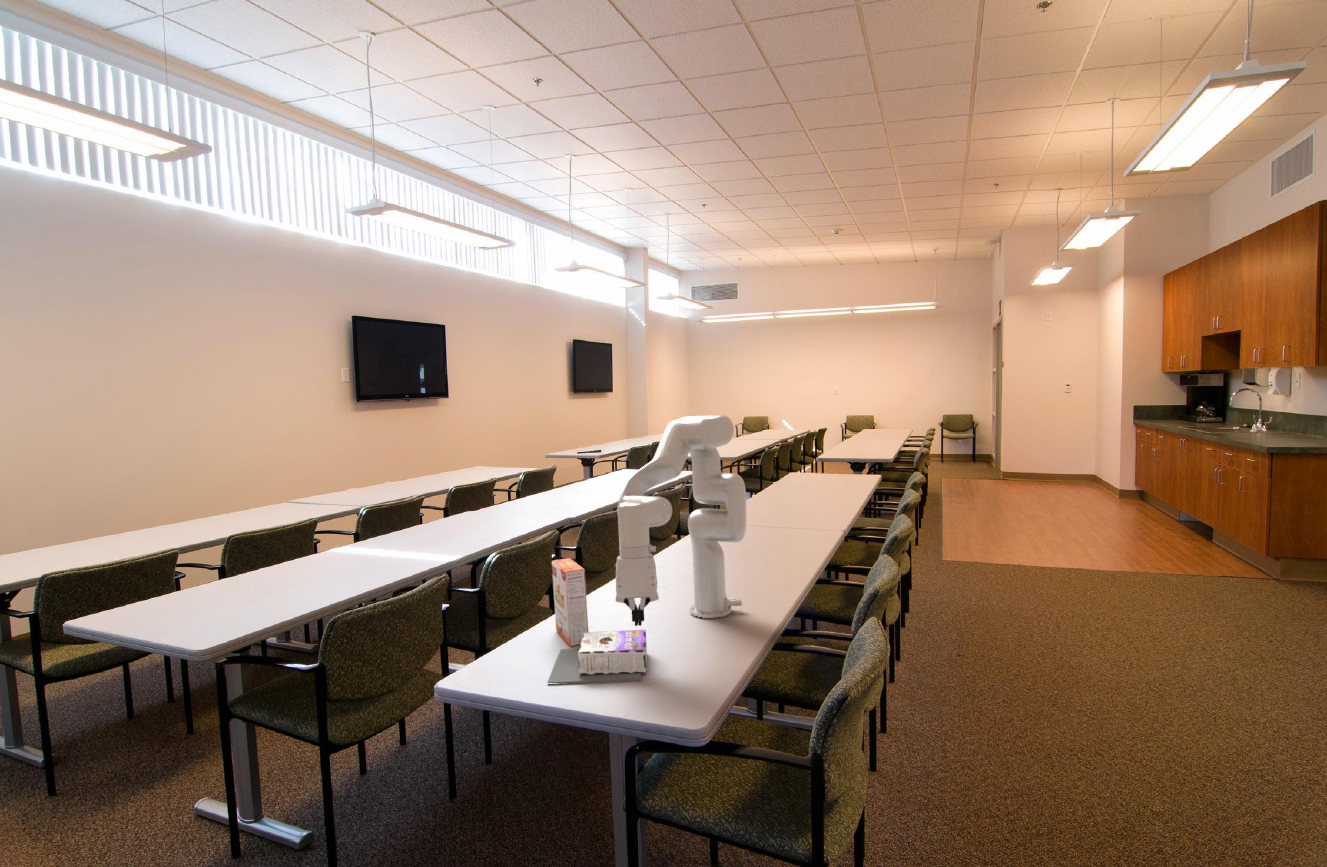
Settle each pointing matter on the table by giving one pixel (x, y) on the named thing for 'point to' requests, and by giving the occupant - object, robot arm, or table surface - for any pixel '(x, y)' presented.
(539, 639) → the table surface
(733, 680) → the table surface
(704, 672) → the table surface
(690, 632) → the table surface
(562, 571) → the cracker box
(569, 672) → the rubber mat
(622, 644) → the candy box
